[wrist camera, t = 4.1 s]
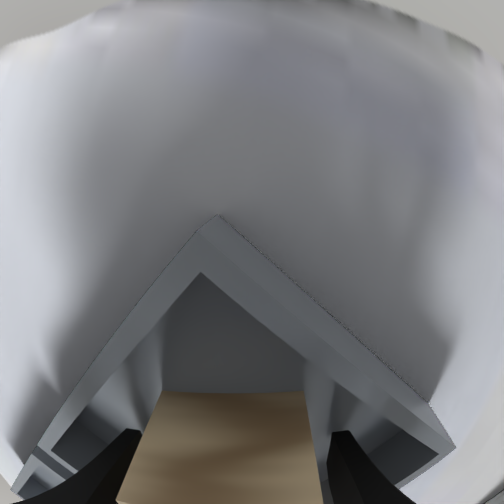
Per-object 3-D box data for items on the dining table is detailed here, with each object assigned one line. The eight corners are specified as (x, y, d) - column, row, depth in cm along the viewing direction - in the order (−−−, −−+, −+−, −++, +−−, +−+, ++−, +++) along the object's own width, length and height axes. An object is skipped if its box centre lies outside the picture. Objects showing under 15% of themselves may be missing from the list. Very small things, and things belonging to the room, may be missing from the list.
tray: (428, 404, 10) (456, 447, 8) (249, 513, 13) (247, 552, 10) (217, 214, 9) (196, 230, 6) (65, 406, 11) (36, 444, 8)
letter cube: (303, 390, 10) (325, 516, 5) (297, 469, 11) (306, 564, 6) (162, 390, 10) (114, 502, 5) (186, 468, 11) (165, 558, 6)
